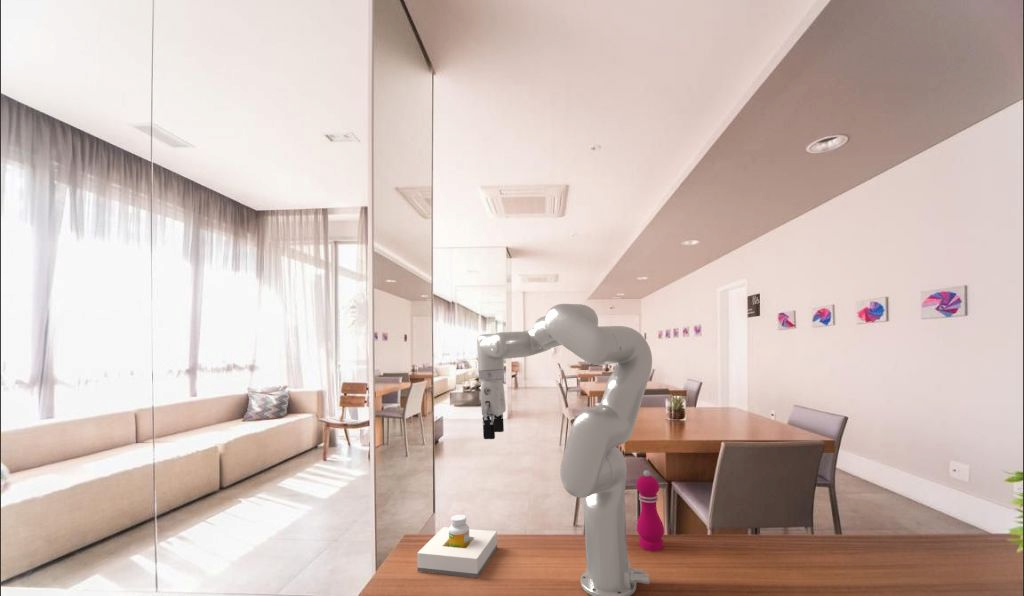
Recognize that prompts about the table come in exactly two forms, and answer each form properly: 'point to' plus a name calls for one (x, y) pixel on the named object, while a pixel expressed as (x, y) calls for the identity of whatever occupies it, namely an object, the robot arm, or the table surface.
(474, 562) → the socket block
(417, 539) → the table surface
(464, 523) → the supplement bottle
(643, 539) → the pepper mill
